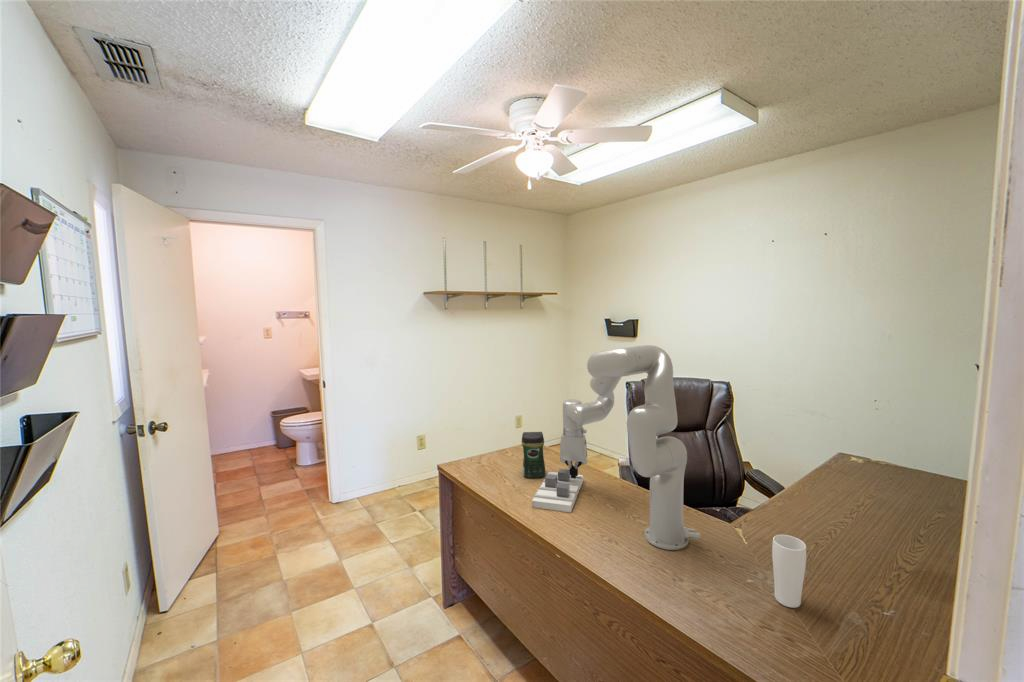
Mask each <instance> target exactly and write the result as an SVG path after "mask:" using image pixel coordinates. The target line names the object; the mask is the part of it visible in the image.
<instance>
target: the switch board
mask: <svg viewBox="0 0 1024 682" xmlns="http://www.w3.org/2000/svg"><path fill="white" fill-rule="evenodd" d="M547 474H549V475H557V482H558V483H562V484H569V487H570V493H569V496H568V498H567V497H558V496H557V486H556V488H552V487H545V478H544V479H543V480H542V484H541V485H540V486H538V490H537V491H536V493H535V494H534V495H533V498H532V500H531V508H535V509H544V510H550V511H556V512H557V511H558V512H565V513H572V510H573V508H574V506H573V505H575V503H576V501H577V498H578V496H577V495H579V493H580V491H579V490H581V488H582V486H581V485H583V483H584V474H578V476H576V478H575V479H574V478H573V479H572V478H571V475H570V479H569V481H568V482H566V481H558V472H555V471H548V472H547V473H546V475H547ZM557 485H558V484H557ZM575 500H576V501H575Z"/></svg>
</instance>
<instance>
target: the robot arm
mask: <svg viewBox="0 0 1024 682" xmlns="http://www.w3.org/2000/svg"><path fill="white" fill-rule="evenodd" d="M586 367H587V371H588V372H587V373H589V375H590V376H592V377H591V379H590V382H589V385H590V388H591V390H592V391H593V392H595V394H597V395H598V396H597V398H596V399H595V400H594V401H590V402H585V403H583V402H582V401H581V400H579V399H573V398H571V399H566V400H564V401H562V433H561V437H560V442H559V443H560V445H559V446H560V448H559V462H560V463H563V464H565V465H566V466H568V468H569V470H570V475H571V478H572V479H573V478H574V479H575V478H576V476H578V475H579V467H581V466H582V465H583V466H584V465H587V464H588V445H587V439H586V434H587V432H588V431H587V429H585V428H584V427H583V426H585V425H588V424H593V423H597V422H601V421H603V420H605V419H606V418H607V417H608V416H609V414H610V412H611V411H612V409H613V407H614V404H615V395H614V390H615V389H616V387H617V385H618V384H619V382H620V381H621V379H622V378H623V377H629V376H634V375H640V374H647V376H646V379H645V382H644V387H643V388H644V389H643V392H644V404H640V405H639V406H635V407H634V408H632V409H631V410H629V411H630V412H629V413H628V414H627V415H628V416H627V419H626V432H627V440H628V447H629V454H630V455H629V456H630V460H631V464H632V467H633V469H634V470H635V472H637V474H638V475H640V476H641V477H644V478H650V479H649V526H647V527H646V529H645V530H644V538H645V539H646V542H648V543H650V544H651V545H653V546H654V547H656V548H659V549H663V550H669V551H675V550H676V551H677V550H683V549H684V548H686V547H687V546H688V544H689V543H690V542H689V540H690V539H692V540H697V541H698V540H699V541H700V540H701V533H700V532H696V530H695V528H691V527H686V526H685V521H684V479H685V471H686V466H687V461H688V451H687V448H686V446H685V444H684V443H683V441H682V440H680V438H677V437H674V436H667V435H666V436H661V435H665V434H667V433H670V432H672V431H674V430H675V429H676V428H677V426H678V422H679V420H678V412H677V411H678V410H677V403H676V402H677V401H676V395H675V388H674V369H673V368H674V367H673V361H672V358H671V357H670V355H669V354H668V353H667V352H666V351H665V349H663V348H661V347H659V346H657V345H652V344H651V345H650V344H649V345H647V344H646V345H637V346H631V347H629V346H628V347H623V348H622V347H621V348H616V349H610V350H601V351H595V352H593V353H592V354H591V355H590V356H589V358H588V360H587V363H586ZM658 436H661V437H659V438H657V437H658ZM573 462H574V463H573Z"/></svg>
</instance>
